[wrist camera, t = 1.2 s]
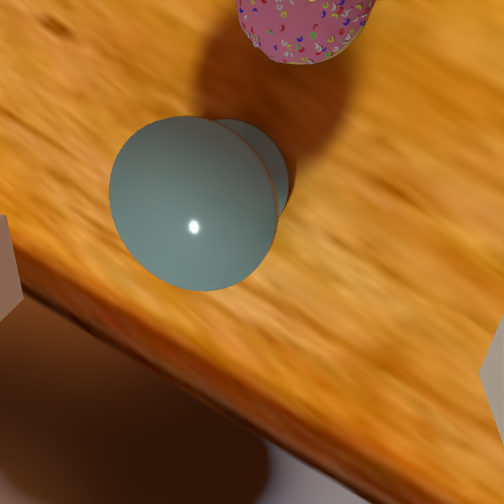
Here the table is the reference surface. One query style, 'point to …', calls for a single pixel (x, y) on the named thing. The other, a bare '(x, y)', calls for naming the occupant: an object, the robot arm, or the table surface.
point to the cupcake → (303, 27)
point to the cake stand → (199, 199)
